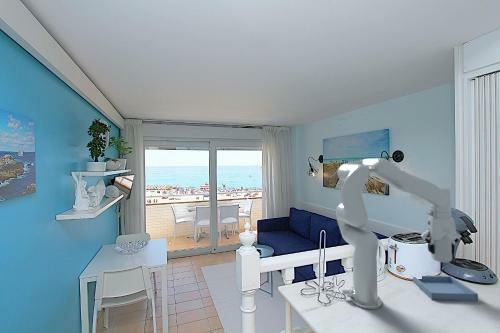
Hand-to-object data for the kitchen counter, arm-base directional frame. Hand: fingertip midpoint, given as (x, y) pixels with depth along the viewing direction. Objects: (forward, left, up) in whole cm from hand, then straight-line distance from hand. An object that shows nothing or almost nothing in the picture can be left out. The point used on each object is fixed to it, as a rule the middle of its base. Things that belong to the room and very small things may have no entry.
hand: (441, 252), depth 110 cm
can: (0, 0, -4) cm, 4 cm away
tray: (0, 0, -18) cm, 18 cm away
